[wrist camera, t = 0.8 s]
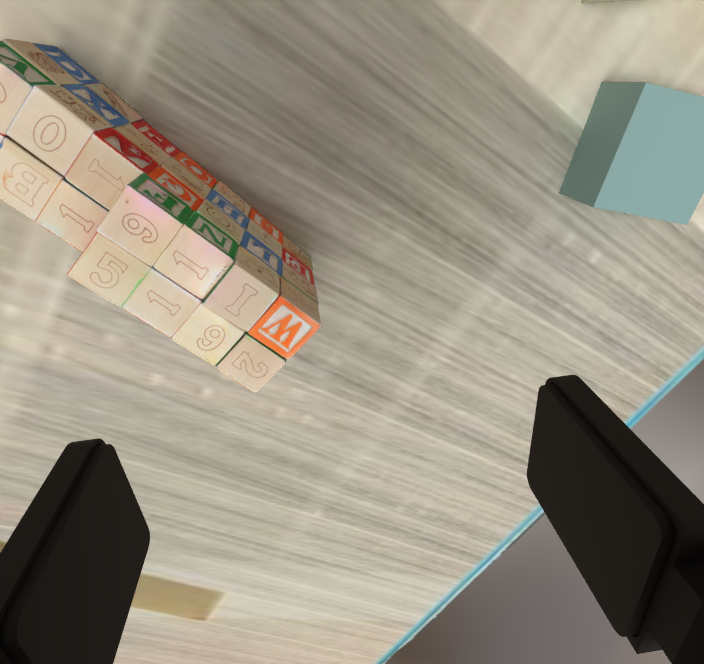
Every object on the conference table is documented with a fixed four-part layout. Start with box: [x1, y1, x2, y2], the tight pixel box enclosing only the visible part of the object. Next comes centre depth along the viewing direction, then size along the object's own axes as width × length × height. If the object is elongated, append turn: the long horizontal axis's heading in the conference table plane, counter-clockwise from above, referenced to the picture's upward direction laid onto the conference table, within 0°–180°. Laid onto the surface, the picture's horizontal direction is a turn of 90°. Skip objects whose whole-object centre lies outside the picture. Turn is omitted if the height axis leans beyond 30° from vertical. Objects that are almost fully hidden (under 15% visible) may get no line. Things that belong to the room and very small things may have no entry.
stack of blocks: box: [0, 39, 321, 393], centre depth 29 cm, size 21×6×12 cm, turn 47°
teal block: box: [559, 82, 704, 225], centre depth 34 cm, size 8×8×5 cm
